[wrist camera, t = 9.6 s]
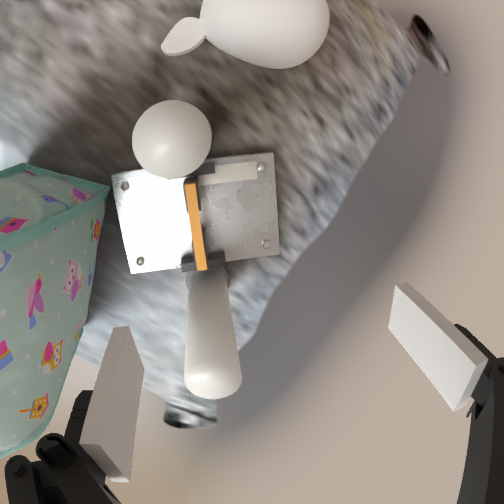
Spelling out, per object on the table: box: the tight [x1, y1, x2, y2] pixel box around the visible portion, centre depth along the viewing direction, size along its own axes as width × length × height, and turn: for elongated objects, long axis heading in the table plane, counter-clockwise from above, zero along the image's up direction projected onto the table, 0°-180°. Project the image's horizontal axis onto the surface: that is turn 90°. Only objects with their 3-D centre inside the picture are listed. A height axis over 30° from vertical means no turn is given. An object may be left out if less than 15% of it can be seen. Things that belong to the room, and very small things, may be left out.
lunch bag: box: [0, 163, 110, 459], centre depth 23 cm, size 23×16×27 cm
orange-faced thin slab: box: [183, 177, 209, 271], centre depth 32 cm, size 1×9×4 cm, turn 5°
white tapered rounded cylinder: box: [184, 267, 242, 399], centre depth 32 cm, size 5×5×18 cm
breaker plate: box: [111, 152, 280, 274], centre depth 35 cm, size 18×12×4 cm, turn 95°
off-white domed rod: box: [132, 100, 212, 179], centre depth 25 cm, size 5×5×18 cm
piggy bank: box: [161, 0, 330, 69], centre depth 25 cm, size 12×12×15 cm
